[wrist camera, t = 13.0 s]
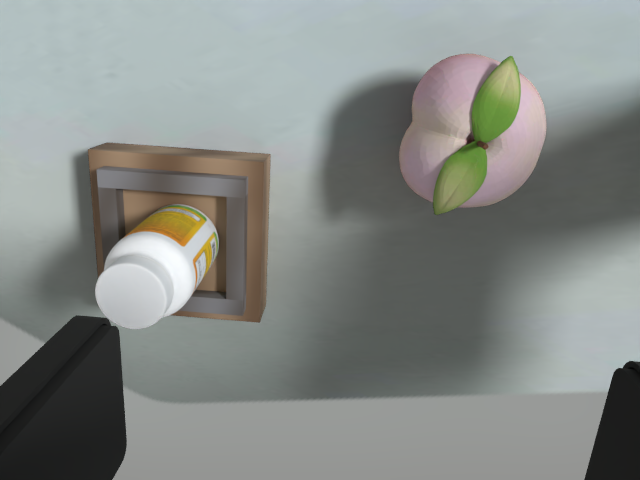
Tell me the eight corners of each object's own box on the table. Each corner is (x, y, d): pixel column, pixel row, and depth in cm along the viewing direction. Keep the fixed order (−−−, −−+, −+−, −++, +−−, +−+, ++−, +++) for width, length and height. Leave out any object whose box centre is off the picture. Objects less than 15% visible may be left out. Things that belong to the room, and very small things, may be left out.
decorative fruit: (494, 200, 40) (537, 247, 30) (383, 176, 40) (393, 215, 30) (537, 67, 37) (601, 73, 27) (418, 41, 36) (440, 37, 27)
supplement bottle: (130, 224, 39) (60, 277, 30) (193, 189, 38) (141, 233, 28) (172, 286, 40) (118, 356, 31) (234, 254, 39) (198, 316, 30)
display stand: (270, 154, 40) (261, 165, 36) (265, 304, 43) (256, 330, 39) (106, 142, 40) (79, 152, 36) (116, 292, 44) (93, 316, 40)
